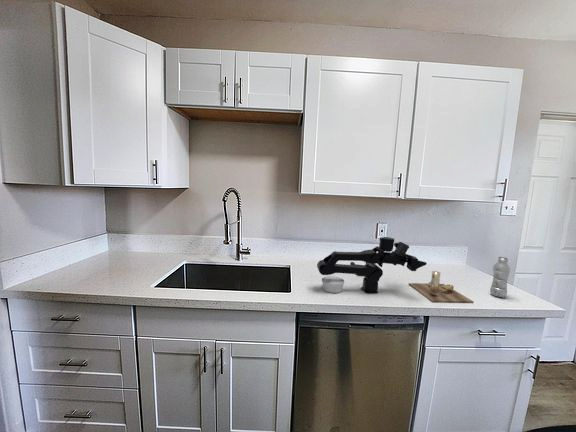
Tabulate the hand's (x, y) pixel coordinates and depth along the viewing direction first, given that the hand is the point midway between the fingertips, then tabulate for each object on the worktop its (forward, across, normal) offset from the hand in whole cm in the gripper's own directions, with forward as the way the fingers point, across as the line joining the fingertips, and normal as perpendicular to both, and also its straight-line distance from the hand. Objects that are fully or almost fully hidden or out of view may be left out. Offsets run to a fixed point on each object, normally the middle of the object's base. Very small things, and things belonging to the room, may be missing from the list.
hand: (421, 260), depth 124 cm
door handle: (-17, +30, +18) cm, 39 cm away
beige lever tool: (+9, 0, +15) cm, 17 cm away
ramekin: (-43, +1, +20) cm, 47 cm away
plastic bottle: (+41, -3, +14) cm, 43 cm away
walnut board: (+11, -1, +16) cm, 19 cm away
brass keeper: (+15, -2, +15) cm, 21 cm away
